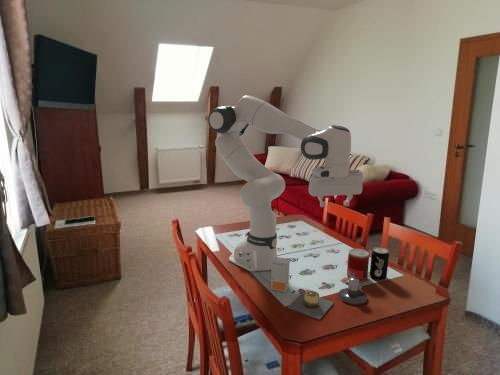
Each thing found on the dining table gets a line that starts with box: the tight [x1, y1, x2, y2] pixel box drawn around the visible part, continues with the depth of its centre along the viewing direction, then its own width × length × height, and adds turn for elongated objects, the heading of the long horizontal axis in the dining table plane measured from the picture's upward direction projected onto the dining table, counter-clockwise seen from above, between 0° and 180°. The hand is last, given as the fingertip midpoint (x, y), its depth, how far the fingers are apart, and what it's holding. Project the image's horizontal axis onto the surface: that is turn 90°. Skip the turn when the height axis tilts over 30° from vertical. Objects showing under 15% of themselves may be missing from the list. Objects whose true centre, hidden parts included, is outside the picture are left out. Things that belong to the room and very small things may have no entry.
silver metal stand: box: [338, 277, 368, 306], centre depth 135 cm, size 10×10×8 cm
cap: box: [304, 290, 320, 309], centre depth 129 cm, size 5×5×4 cm
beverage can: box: [369, 246, 390, 281], centre depth 149 cm, size 7×7×12 cm
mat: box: [287, 291, 335, 321], centre depth 130 cm, size 12×12×1 cm
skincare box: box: [270, 256, 291, 293], centre depth 140 cm, size 6×4×12 cm
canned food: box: [346, 248, 370, 282], centre depth 149 cm, size 8×8×11 cm
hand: (334, 206), depth 140 cm, fingers open, 8 cm apart
